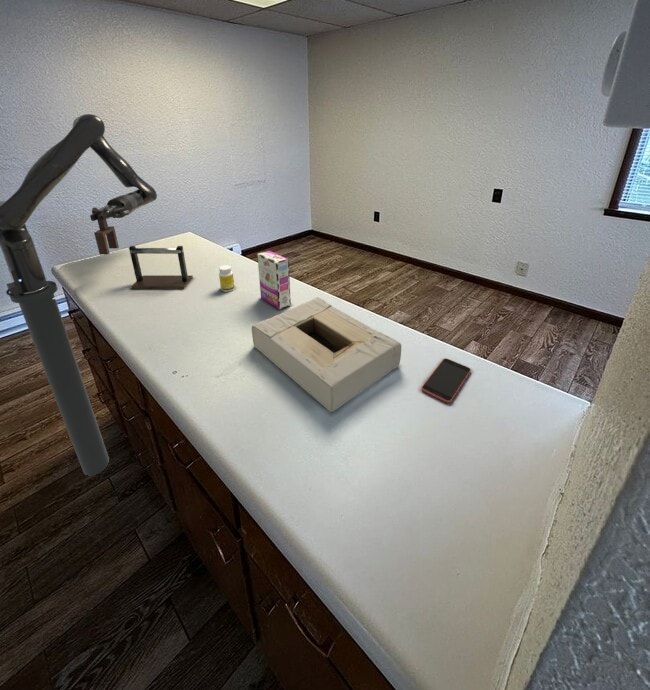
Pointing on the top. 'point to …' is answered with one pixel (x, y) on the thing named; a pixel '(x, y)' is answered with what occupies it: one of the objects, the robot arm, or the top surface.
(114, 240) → the brown u-shaped bracket
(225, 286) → the supplement bottle
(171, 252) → the rack
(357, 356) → the box
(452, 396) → the smartphone
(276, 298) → the candy bar box
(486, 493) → the top surface
